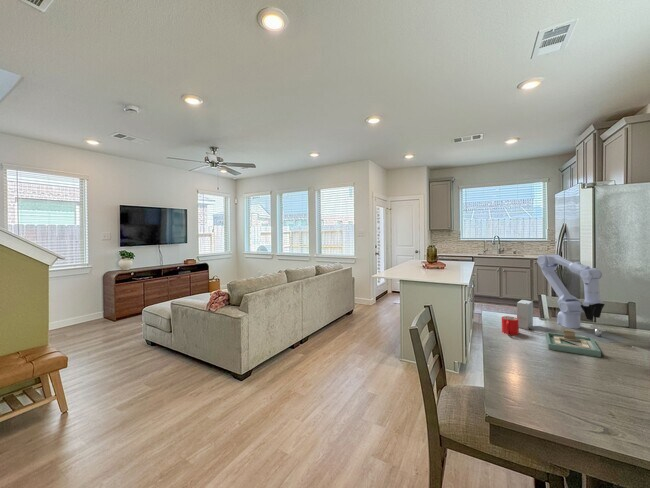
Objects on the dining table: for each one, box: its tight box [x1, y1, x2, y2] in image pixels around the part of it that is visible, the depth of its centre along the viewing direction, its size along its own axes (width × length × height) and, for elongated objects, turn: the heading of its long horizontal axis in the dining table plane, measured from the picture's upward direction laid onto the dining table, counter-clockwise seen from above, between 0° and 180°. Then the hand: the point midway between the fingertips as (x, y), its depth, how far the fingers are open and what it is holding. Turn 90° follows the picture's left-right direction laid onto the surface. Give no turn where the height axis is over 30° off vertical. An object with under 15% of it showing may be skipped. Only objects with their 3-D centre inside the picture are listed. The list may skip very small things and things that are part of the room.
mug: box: [501, 315, 520, 336], centre depth 156 cm, size 8×12×8 cm, turn 140°
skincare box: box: [516, 299, 534, 330], centre depth 165 cm, size 8×6×15 cm
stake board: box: [575, 329, 631, 344], centre depth 144 cm, size 15×15×2 cm
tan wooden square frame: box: [554, 328, 591, 349], centre depth 138 cm, size 12×12×5 cm
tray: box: [545, 331, 602, 358], centre depth 137 cm, size 18×18×2 cm
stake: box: [589, 325, 607, 337], centre depth 144 cm, size 6×2×4 cm, turn 11°
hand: (593, 318), depth 147 cm, fingers open, 7 cm apart
